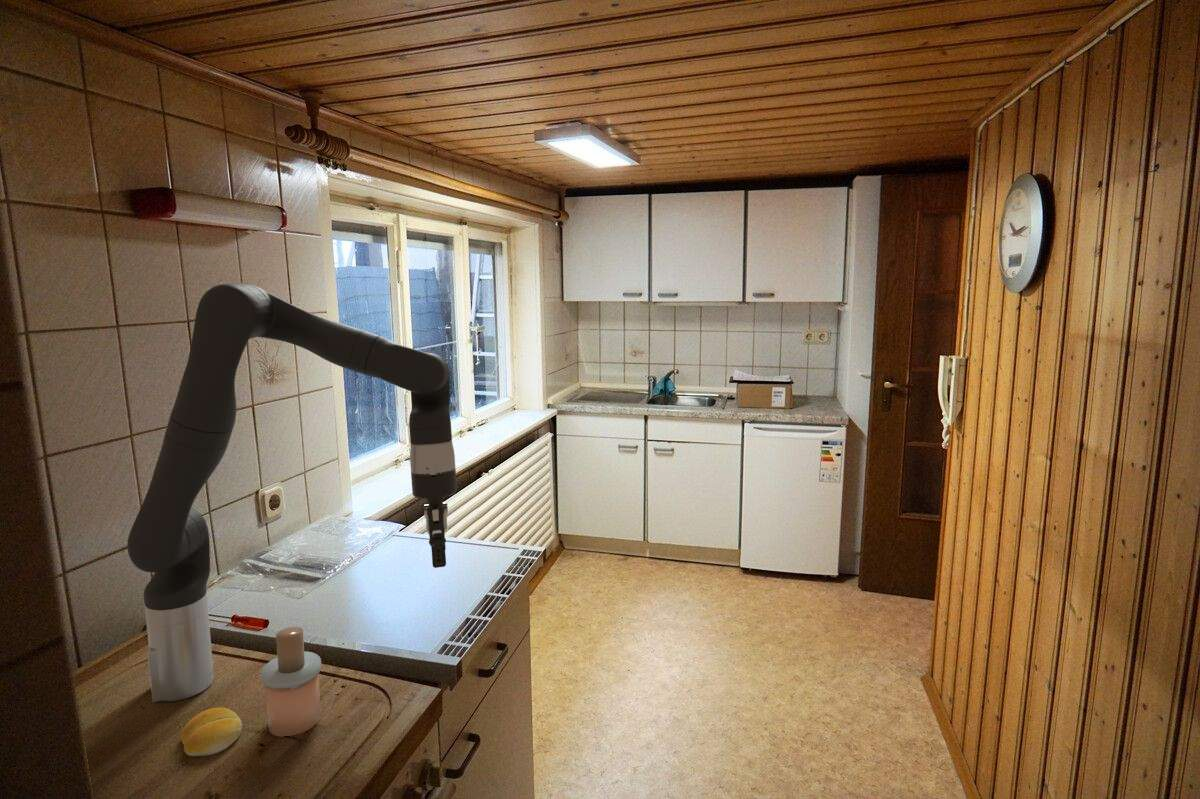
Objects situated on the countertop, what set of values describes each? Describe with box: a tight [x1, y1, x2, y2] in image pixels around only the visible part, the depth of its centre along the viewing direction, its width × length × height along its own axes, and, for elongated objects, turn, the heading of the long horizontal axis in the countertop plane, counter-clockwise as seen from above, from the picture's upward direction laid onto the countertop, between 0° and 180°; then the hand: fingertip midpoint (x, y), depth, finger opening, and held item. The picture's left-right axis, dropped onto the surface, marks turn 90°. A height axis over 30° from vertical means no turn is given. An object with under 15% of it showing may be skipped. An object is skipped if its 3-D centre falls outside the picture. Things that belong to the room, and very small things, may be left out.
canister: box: [264, 673, 321, 738], centre depth 107 cm, size 8×8×9 cm
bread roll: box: [180, 707, 243, 757], centre depth 102 cm, size 8×9×4 cm
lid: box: [260, 626, 322, 690], centre depth 105 cm, size 9×9×8 cm
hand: (439, 558), depth 111 cm, fingers open, 8 cm apart
